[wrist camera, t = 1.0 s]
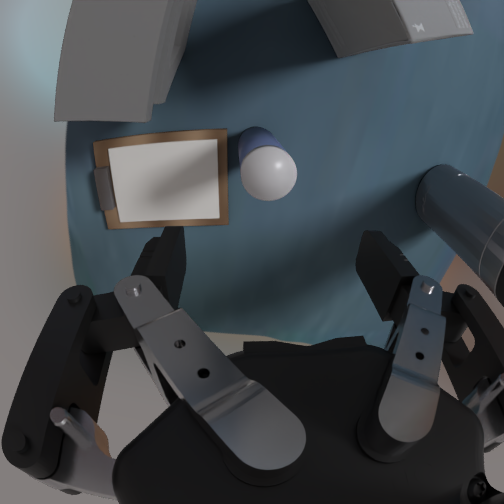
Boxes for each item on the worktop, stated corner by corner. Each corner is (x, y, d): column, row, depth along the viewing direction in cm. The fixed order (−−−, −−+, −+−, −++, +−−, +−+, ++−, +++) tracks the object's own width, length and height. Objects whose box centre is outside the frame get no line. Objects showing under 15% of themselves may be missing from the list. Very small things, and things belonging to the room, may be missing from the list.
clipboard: (227, 128, 28) (226, 131, 27) (228, 221, 34) (228, 228, 32) (95, 140, 27) (89, 144, 26) (110, 226, 33) (105, 233, 32)
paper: (217, 139, 28) (217, 139, 28) (219, 217, 33) (219, 218, 32) (109, 148, 27) (108, 149, 27) (121, 221, 32) (120, 222, 32)
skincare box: (383, 46, 23) (483, 41, 10) (329, 61, 24) (414, 49, 11) (353, -16, 19) (435, -61, 5) (296, -4, 20) (352, -67, 7)
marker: (273, 125, 28) (298, 148, 18) (272, 158, 30) (294, 200, 20) (237, 124, 28) (241, 147, 18) (237, 158, 30) (241, 201, 20)
